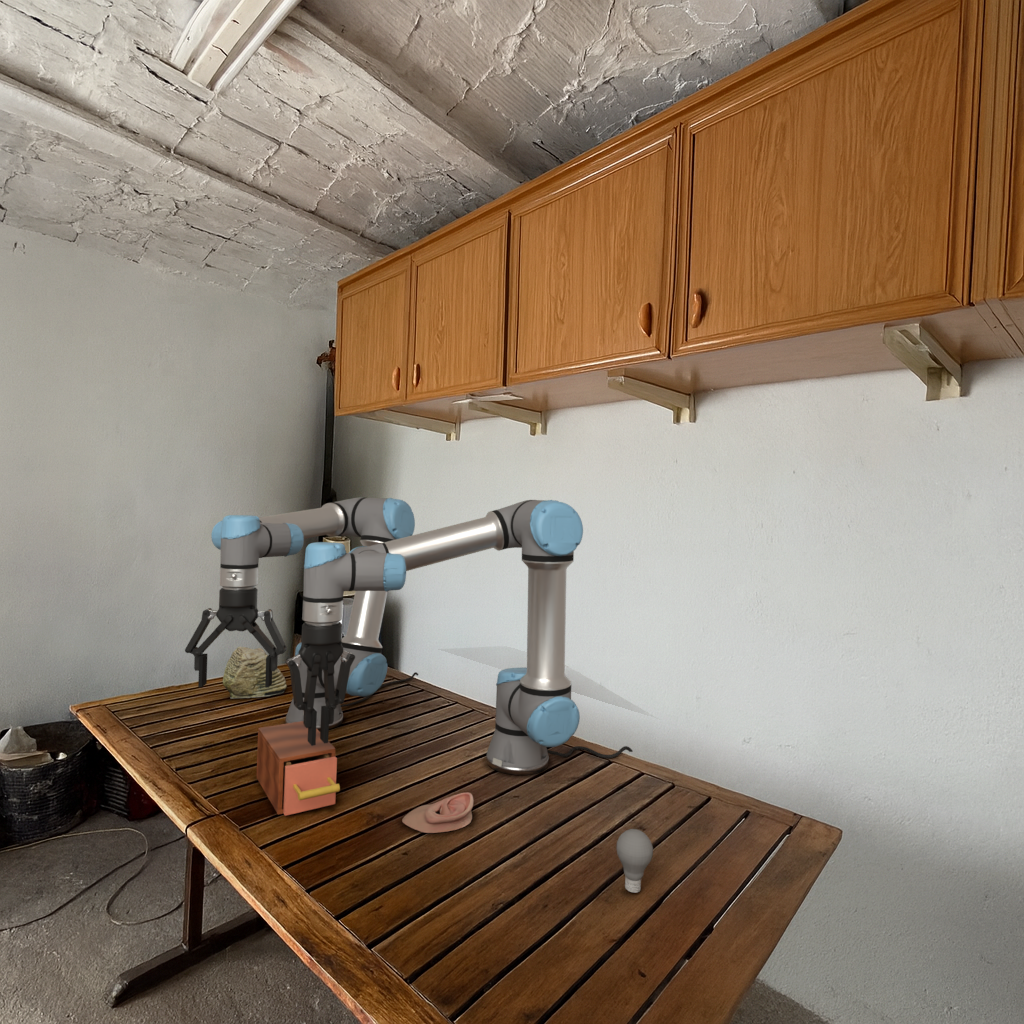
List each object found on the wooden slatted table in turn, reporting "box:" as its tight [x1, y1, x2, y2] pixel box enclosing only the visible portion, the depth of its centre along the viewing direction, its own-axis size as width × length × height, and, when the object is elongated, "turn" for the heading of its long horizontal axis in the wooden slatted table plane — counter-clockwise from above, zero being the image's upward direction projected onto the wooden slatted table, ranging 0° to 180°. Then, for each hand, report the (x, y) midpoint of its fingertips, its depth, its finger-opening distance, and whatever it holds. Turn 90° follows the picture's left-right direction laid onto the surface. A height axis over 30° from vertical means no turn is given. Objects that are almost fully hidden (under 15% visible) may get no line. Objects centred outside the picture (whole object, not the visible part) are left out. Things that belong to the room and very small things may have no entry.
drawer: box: [282, 754, 341, 817], centre depth 131 cm, size 23×10×9 cm, turn 34°
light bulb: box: [615, 828, 654, 894], centre depth 106 cm, size 6×6×10 cm
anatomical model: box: [401, 791, 474, 834], centre depth 126 cm, size 13×4×12 cm
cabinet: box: [255, 721, 336, 815], centre depth 136 cm, size 19×11×11 cm, turn 34°
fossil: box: [222, 646, 288, 699], centre depth 198 cm, size 9×18×15 cm, turn 132°
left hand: (235, 685), depth 136 cm, fingers open, 13 cm apart
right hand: (317, 741), depth 124 cm, fingers closed
